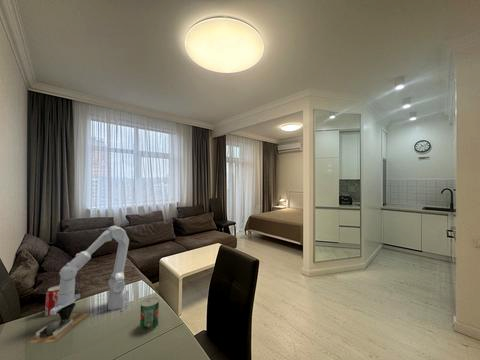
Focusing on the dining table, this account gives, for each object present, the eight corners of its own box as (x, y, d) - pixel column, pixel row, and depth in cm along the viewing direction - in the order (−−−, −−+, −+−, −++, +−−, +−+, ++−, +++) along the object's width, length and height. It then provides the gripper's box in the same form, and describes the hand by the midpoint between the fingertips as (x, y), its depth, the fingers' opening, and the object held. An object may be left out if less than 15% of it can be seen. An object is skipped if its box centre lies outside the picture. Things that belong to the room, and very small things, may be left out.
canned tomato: (161, 325, 92) (161, 301, 93) (144, 334, 86) (144, 308, 87) (153, 318, 97) (154, 295, 98) (137, 326, 92) (137, 301, 92)
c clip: (72, 325, 91) (73, 319, 92) (56, 338, 83) (56, 332, 83) (53, 325, 91) (54, 319, 91) (35, 338, 83) (36, 332, 83)
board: (91, 314, 101) (91, 312, 101) (56, 344, 81) (56, 341, 81) (65, 315, 100) (65, 313, 100) (24, 345, 80) (24, 342, 80)
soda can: (51, 318, 98) (53, 291, 99) (40, 317, 99) (42, 290, 100) (66, 310, 105) (68, 285, 106) (56, 309, 106) (57, 284, 107)
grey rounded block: (61, 329, 88) (62, 319, 88) (53, 336, 84) (54, 325, 84) (52, 330, 88) (53, 319, 88) (43, 336, 84) (44, 325, 84)
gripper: (70, 285, 100) (69, 312, 99) (43, 300, 86) (41, 332, 85) (84, 284, 101) (83, 312, 100) (60, 299, 86) (58, 332, 85)
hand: (65, 321), depth 92 cm, fingers closed
